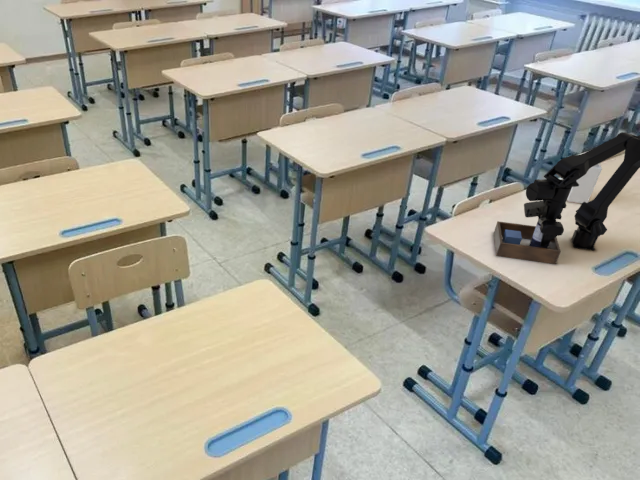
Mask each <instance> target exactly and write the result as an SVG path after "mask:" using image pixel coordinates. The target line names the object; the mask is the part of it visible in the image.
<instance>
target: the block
mask: <svg viewBox="0 0 640 480" xmlns="http://www.w3.org/2000/svg"><path fill="white" fill-rule="evenodd" d="M522 240H523V238H522V236H521V231H514V230H506V229H505V232H504V235H502V241H503V243H510V244H517V245H521V243H522Z"/></svg>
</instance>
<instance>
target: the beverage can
mask: <svg viewBox="0 0 640 480" xmlns="http://www.w3.org/2000/svg"><path fill="white" fill-rule="evenodd" d="M545 220H547V219H546V218H542V217H540V219H539V220H538V219H537V222H536V225H535V226H536V228H535V230H534V233H533V236H532V239H530V242H529V245H528V246H532V247H539V248H546V249H549V243H550V242H549V243H548V244H546V245H545V246H544V247H542V246H540V244H541V239H542V233H541V231H540V227H541V223H542V222H543V221H545Z"/></svg>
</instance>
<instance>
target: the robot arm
mask: <svg viewBox="0 0 640 480" xmlns="http://www.w3.org/2000/svg"><path fill="white" fill-rule="evenodd" d="M622 152H624V156H623V161H622V162H621V164H619V166H618V168H617V169H616V170H615V171H614V172H613V174H612V175H611V176H610V177H609V179H608V180H607V181H606V183H605V184H604V185H603V187H602V188H601V189H600V191H599V192H598V193H597V194H596V196H595V197H594V198H593V199H592V200H589V201H588V203H586V202H583V203H580V206H579V207H578V208H577V209H576V210H575V213H574V220H575V221H574V224H575V225H576V226H577V228H576V229H575V230H574V231H573V234H572V236H571V238H570V242H571V243H572V245H573V248H574V249H579V250H588V251H595V250H596V248H595V245H596V242H597V240H598V239H599V237H600V236H603V235H605V233H606V232H607V231H608V228H607V227H606V226H605V224H604V222H605V221H606V219H607V217H608V210H609V207H610V205H612V203H613V202H614V200H615V199H616V198H617V197H618V196H619V194H620V193H621V192H622V190H624V188H625V186H626V185H627V184H628V183H629V182H630V180H631V179H632V178H633V177H634V176H635V174H636V173H637V172H638V170H639V169H640V134H639V135H635V134H632V133H628V132H626V131H625V132H623V131H622V132H619V133H618V134H617V135H616V136H615V137H613V138H611V139H609V140H607V141H605V142H603V143H601V144H599V145H597V146H595V147H594V148H591V149H590V150H587V151H585V152H583V153H580V154H573V155H569V156H566V157H563V158H561V159H560V160H558V161H557V162H556V164H555V165H553V166H552V168H550V169H549V171H547V172H546V173H545V174H544V175H543V179H540V178H539V179H537V178H536V179H534V180H533V182H531V183H530V184H528V186H526V189H525V196H526V197H525V198H526V199H527V200H528V201H529V202H525V203H523V213H524V218H537V221H538V220H539V219H540V217H542V218H546V219H547V220H545V221H543V222H542V223H541V227H540V231H541V233H542V239H541V244H540V246H542V247H544V246H545V245H546V244H548V243H549V242H550V241H551V240H553V239H554V238H555V237H557V238H558V237H559V236H562V235H564V234H563V233H564V231H565V228H564V226H563V223H562V222H561V221H557V220H562V218H563V216H562V213H563V211H564V209H566V208H567V202H568V201H567V198H568V196H569V193H570V191H571V189H572V187H578V186H579V184H578V183H577V181H576V180H578V179H579V178H581V177H582V176H584V175H585V174H586V173H587V171H588V170H589V169H590V168H591V167H593V166H595V165H597V164H599V163H600V164H601V163H603V162H605V161H606V160H609V159H610V158H613V157H614V156H616V155H619V154H620V153H622ZM555 175H556V176H555ZM560 178H561V179H560Z"/></svg>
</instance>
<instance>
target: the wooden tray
mask: <svg viewBox="0 0 640 480" xmlns="http://www.w3.org/2000/svg"><path fill="white" fill-rule="evenodd" d="M535 228H536V225H529V224H521V223H514V222H505V221H498V220H497V222H496V225H495V227H494V230H493V240H494V248H495V255H496V257H502V258H510V259H516V260H524V261H530V262H531V261H532V262H538V263H544V264H552V265H556V264H557V262H558V259H559V257H560V254H561V247H560V244H559V240H558V236H557V237H555V238H554V239H553V240H551V241H550V243H549V246H548V249H546V248H539V247H532V246H529V245H523V244H520V245H517V244H510V243H503V241H502V238H503V235H504V232H505V229H506V230H514V231H521V236H522V239H526V240H531V239H532V236H533V233H534V230H535Z"/></svg>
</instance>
